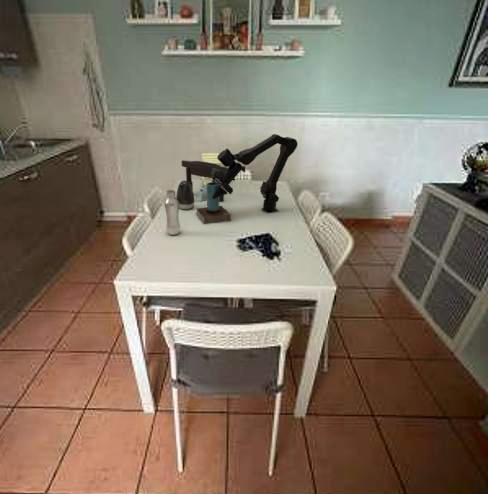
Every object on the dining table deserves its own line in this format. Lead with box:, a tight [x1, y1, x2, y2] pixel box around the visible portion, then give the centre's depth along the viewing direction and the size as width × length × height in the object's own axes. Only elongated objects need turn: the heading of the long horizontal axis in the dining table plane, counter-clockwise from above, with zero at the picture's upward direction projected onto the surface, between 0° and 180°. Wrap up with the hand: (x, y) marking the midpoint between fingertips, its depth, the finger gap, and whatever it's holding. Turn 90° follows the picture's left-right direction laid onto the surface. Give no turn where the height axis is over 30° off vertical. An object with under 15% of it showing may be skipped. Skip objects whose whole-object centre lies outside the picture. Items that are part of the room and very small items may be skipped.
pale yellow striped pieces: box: [201, 152, 228, 185], centre depth 217 cm, size 30×16×18 cm, turn 7°
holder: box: [195, 205, 232, 225], centre depth 168 cm, size 14×14×3 cm
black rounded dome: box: [175, 180, 196, 210], centre depth 177 cm, size 10×10×15 cm
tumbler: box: [206, 182, 220, 211], centre depth 164 cm, size 6×6×13 cm
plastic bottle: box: [163, 189, 182, 236], centre depth 146 cm, size 6×7×20 cm
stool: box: [181, 160, 227, 203], centre depth 191 cm, size 16×21×33 cm
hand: (210, 196), depth 163 cm, fingers closed on tumbler, 6 cm apart
